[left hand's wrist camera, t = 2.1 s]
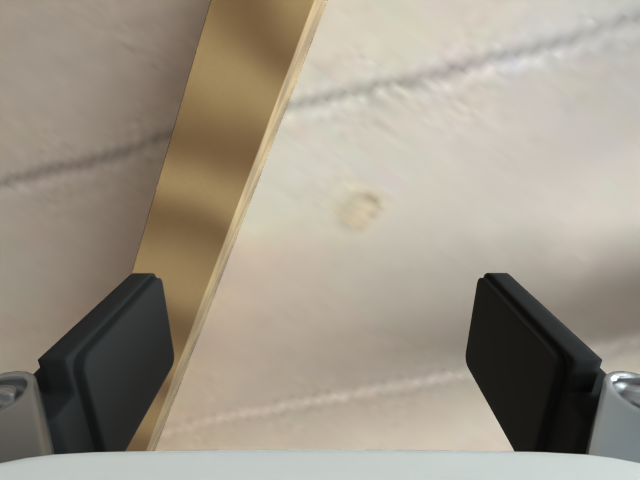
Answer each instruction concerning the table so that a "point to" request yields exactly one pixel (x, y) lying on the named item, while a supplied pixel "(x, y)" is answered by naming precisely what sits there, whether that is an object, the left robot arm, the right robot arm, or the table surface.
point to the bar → (217, 164)
